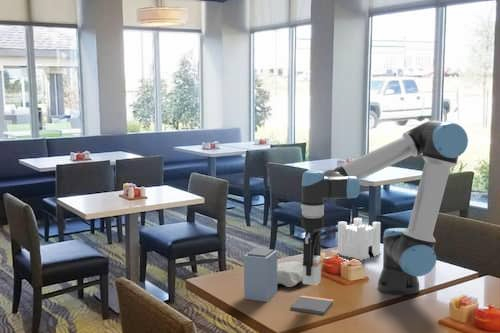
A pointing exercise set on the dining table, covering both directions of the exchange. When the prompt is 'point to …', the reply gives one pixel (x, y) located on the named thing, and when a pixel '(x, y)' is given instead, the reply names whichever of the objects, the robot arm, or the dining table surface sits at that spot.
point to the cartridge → (315, 270)
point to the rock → (289, 273)
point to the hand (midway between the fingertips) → (311, 281)
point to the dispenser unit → (260, 274)
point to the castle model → (358, 239)
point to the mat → (312, 304)
